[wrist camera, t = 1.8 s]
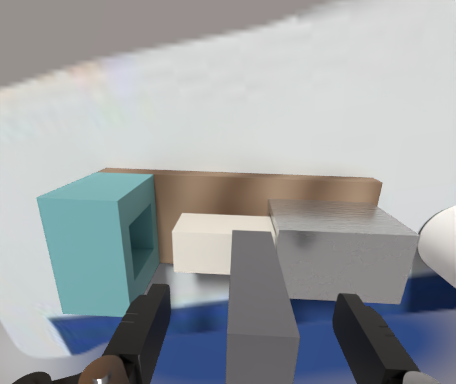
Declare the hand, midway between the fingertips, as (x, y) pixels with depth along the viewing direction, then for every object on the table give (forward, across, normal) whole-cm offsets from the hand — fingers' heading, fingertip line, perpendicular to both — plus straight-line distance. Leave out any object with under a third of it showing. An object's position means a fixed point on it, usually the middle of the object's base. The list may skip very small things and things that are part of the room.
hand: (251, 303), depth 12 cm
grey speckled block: (+9, -6, 0) cm, 10 cm away
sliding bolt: (+7, -2, 0) cm, 8 cm away
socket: (+9, +10, 0) cm, 13 cm away
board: (+10, +1, 0) cm, 10 cm away
